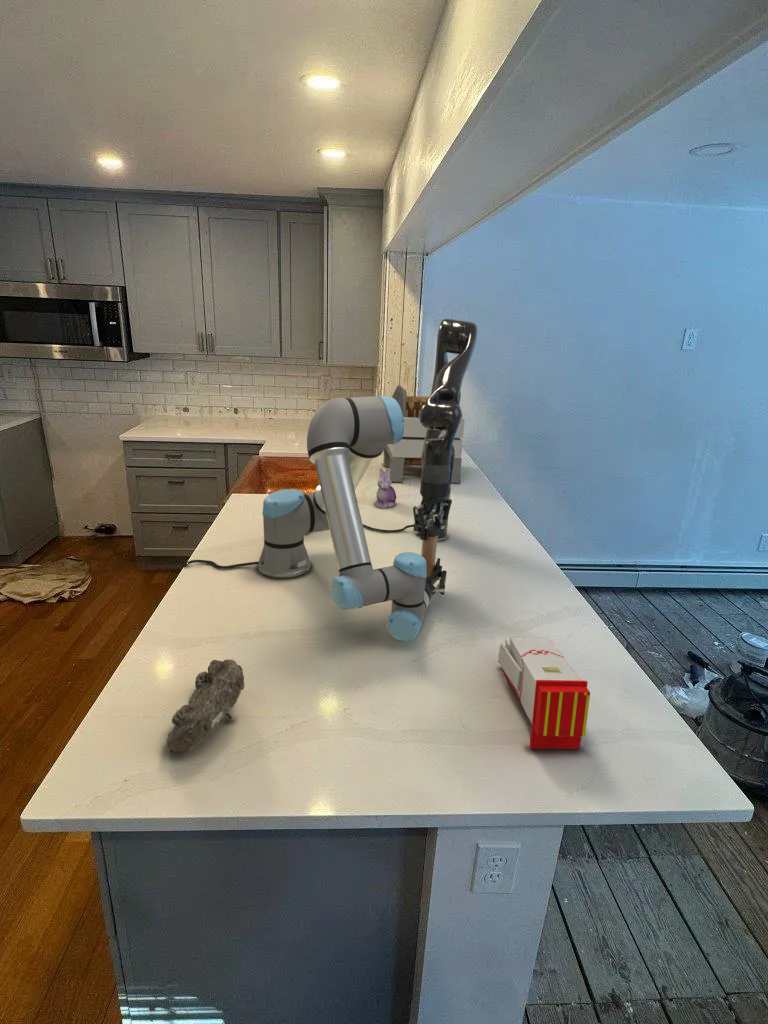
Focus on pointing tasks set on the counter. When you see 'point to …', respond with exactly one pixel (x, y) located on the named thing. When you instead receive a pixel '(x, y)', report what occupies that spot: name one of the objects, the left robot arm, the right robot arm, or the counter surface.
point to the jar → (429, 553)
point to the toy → (546, 691)
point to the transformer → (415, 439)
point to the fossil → (206, 705)
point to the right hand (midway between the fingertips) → (430, 537)
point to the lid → (433, 530)
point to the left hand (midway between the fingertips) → (430, 561)
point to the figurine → (385, 490)
